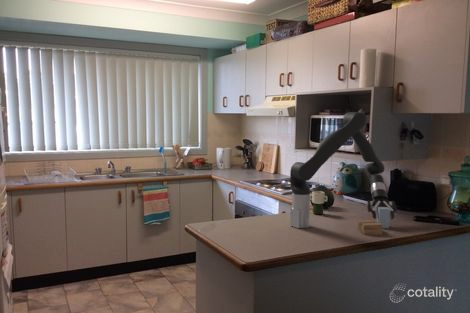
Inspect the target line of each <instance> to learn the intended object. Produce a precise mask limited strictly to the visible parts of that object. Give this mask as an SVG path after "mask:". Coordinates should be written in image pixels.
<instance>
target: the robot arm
mask: <svg viewBox="0 0 470 313" xmlns="http://www.w3.org/2000/svg"><path fill="white" fill-rule="evenodd" d="M342 121H343V122H342V123H343V124H344V126H343V127H341V128H339V129H337V130H334V131H333V132H331V133H329V134H328V135H326V136H325V137H324V138H323V139H322V140H321V141H320V142H319V143H318V145H317V147H316V150H315V152H314V154H313V156H311V157H310V158H309V159H308V160H307V161H305V162H302V161H297V162H294V163H293V164H292V166H291V167H290V170H289V174H290V175H289V177H290V179H289V180H290V182H289V183H290V188H291V207H290V211H289V212H290V217H289V218H290V222H289V223H290V227H292V226H293V227H292V228H296V229H306V228H309V227H310V222H311V221H310V219H311V218H310V215H311V202H310V194H311V188H310V186H308V184H307V182H308V181H309V180H311V179H312V178H313V177H314V176H315V175H316V173H317V172H318V171H319V170H320V168H321V167H322V166H323V165H324V164H325V163H326V162H328V160H329V159H330V158H331V157H332V156H333V155H335V153H336V152H337V151H338V150H339V149H341V147H342V146H343V145H344V144H346V143H347V142H348V141H349V139H351V138H352V139H353V141H354V143H355V144H356V146H357V148H358V150H359V152H360V155H361V157H362V160H363V161H364V162H365V163H366V162H367V164H366V165H365V166H364V167H363V168H364V173H366V175H367V178H368V180H369V184H370V193H371V199H372V200H370V199H368V200H367V203H366V205H367V208H366V209H367V212H368V213H371V216H372V218H373V219H374V220H377V207H388V208H389V209H390V220H393V219H395V213H396V212H397V210H398V209H397V208H398V207H397V205H396V202H395V200H392V201H390V200H389V199H388V194H387V188H386V186H385V182H384V177H383V176H382V175H381V174H383V173H384V172H385V168H386V167H385V165H384V163H383V162H382V161H381V159H379V157H378V155H376V153H375V150H374V148H373V145H372V143H371V142H370V141H369V140H368V139H367V137H366V136H365V135H364V134H363V133H362V131H361V130H362V129H363V128H364V127H365V126H366V124H367V115H366V114H365V113H363V112H359V111H348V112H346V113H345V114H344V116H343V118H342ZM372 205H373V206H374V207H373V208H372Z"/></svg>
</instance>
